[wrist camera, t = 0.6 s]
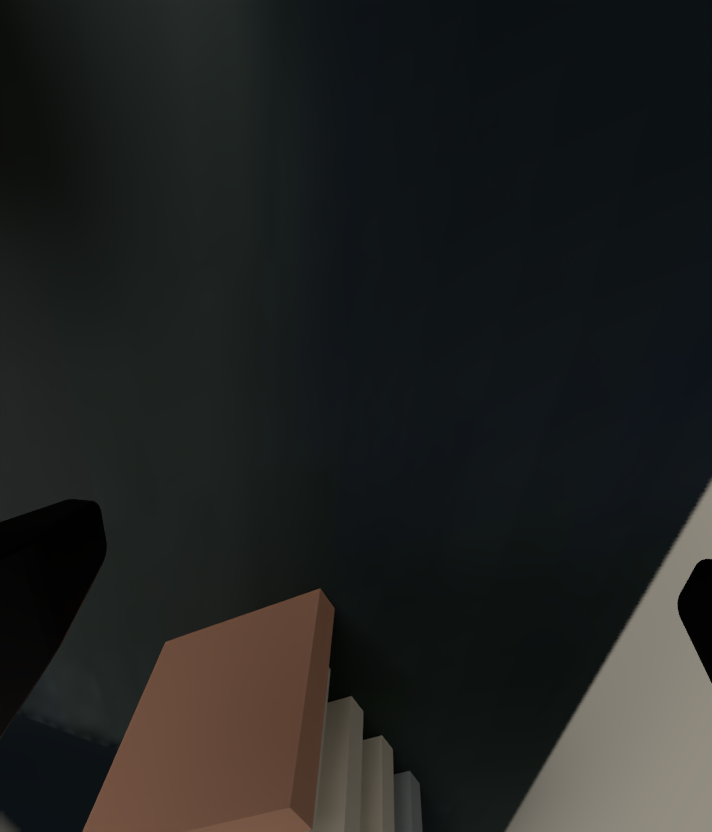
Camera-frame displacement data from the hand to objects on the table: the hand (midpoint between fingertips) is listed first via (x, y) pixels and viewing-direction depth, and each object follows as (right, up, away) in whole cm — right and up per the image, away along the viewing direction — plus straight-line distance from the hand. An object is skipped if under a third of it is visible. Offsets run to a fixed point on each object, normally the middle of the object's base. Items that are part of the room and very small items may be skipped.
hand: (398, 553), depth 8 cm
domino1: (-7, -9, +20) cm, 23 cm away
